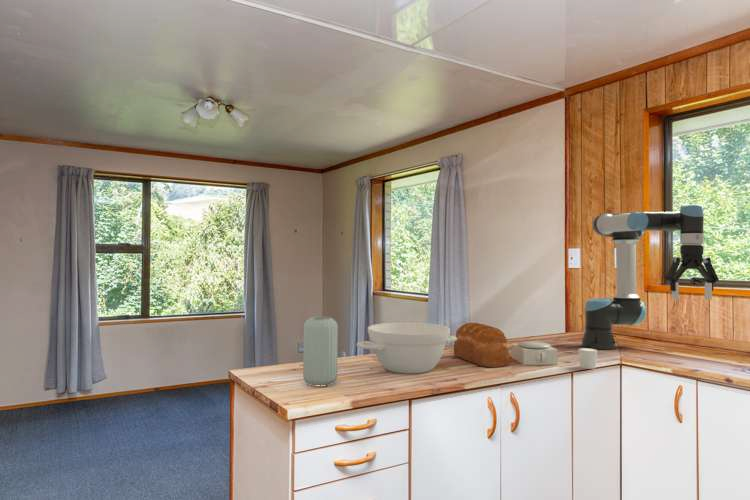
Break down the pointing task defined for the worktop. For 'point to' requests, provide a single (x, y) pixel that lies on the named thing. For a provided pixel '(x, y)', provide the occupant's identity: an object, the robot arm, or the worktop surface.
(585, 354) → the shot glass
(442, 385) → the worktop surface
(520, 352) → the kitchen scale
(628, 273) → the robot arm
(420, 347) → the pot
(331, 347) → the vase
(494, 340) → the bread
